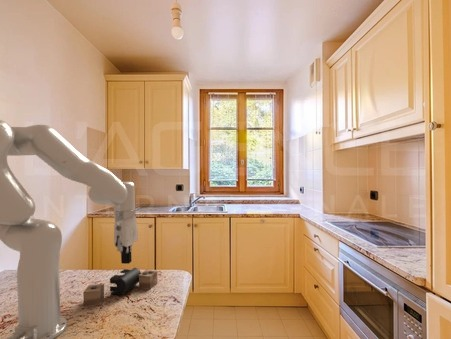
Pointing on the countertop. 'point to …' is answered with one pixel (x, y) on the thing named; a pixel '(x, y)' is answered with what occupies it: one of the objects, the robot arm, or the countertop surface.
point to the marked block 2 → (148, 279)
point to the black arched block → (124, 281)
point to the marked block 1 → (93, 295)
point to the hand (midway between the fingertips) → (126, 262)
